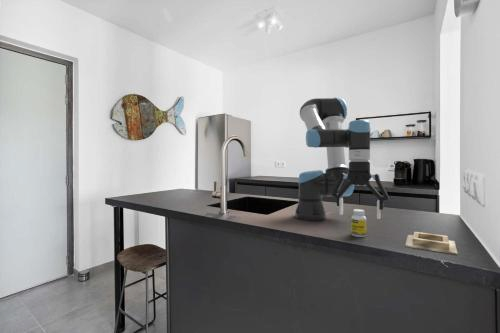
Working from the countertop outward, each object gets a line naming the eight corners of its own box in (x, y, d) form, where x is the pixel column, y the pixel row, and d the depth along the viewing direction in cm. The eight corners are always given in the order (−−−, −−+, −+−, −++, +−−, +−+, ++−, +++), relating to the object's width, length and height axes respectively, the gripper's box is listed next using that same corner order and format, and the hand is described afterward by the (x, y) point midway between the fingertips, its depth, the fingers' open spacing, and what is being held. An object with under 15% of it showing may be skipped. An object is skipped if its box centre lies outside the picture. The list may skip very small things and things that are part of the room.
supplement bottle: (349, 236, 103) (350, 210, 102) (352, 232, 107) (352, 208, 107) (365, 238, 100) (365, 212, 99) (367, 234, 104) (367, 209, 104)
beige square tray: (405, 246, 90) (405, 239, 90) (408, 236, 102) (408, 229, 102) (457, 254, 83) (457, 246, 82) (454, 242, 94) (454, 235, 94)
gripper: (324, 161, 106) (324, 214, 107) (395, 160, 92) (394, 222, 93) (329, 161, 113) (330, 211, 113) (397, 160, 99) (397, 218, 99)
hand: (359, 216), depth 103 cm, fingers open, 13 cm apart
